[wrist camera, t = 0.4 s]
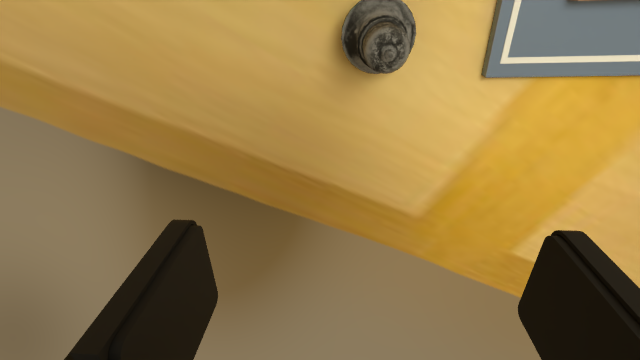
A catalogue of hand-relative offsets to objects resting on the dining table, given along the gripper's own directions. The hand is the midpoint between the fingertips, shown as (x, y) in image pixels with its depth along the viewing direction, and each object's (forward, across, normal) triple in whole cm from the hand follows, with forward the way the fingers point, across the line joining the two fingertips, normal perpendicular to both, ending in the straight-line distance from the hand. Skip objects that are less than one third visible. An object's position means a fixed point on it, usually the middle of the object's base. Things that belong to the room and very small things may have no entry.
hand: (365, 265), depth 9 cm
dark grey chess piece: (+26, -2, -4) cm, 26 cm away
